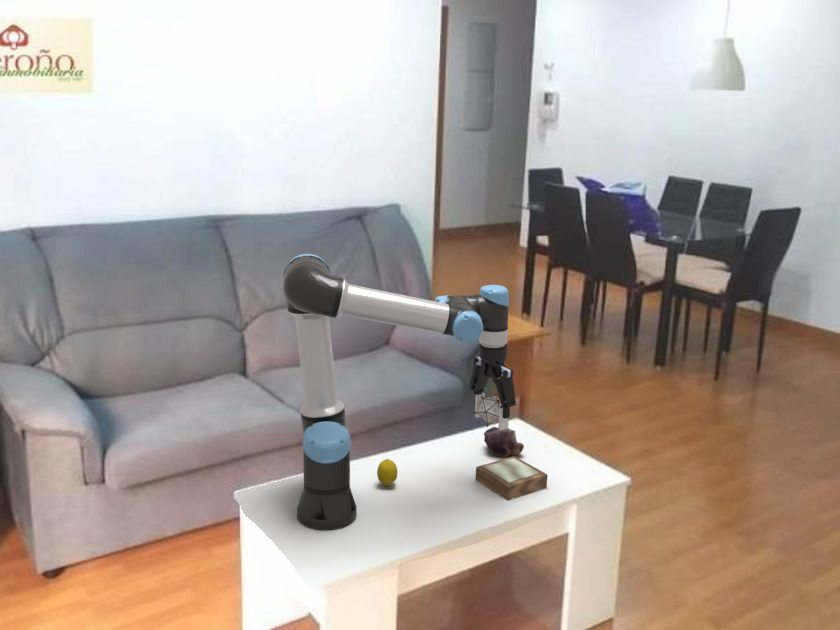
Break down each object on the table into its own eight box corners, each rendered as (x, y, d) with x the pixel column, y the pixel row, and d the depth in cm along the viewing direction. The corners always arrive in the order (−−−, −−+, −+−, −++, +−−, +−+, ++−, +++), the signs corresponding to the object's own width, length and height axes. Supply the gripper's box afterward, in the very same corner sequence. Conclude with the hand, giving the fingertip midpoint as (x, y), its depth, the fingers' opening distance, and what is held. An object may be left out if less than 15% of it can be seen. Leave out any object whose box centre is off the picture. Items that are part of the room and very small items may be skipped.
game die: (484, 437, 234) (462, 410, 232) (496, 417, 240) (475, 390, 238) (509, 429, 228) (486, 401, 226) (520, 409, 234) (498, 381, 232)
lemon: (385, 492, 233) (385, 465, 231) (372, 484, 237) (373, 458, 235) (401, 486, 237) (401, 460, 235) (388, 479, 241) (389, 453, 239)
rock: (498, 448, 266) (476, 455, 260) (497, 421, 265) (474, 428, 259) (527, 454, 258) (505, 463, 251) (526, 427, 257) (503, 434, 250)
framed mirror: (507, 500, 231) (508, 485, 230) (475, 480, 242) (476, 466, 241) (546, 487, 239) (547, 473, 237) (513, 468, 250) (514, 455, 248)
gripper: (532, 352, 221) (529, 432, 227) (478, 331, 239) (477, 406, 245) (509, 357, 217) (507, 439, 223) (456, 335, 235) (455, 412, 241)
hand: (491, 422), depth 234 cm, fingers closed on game die, 9 cm apart
